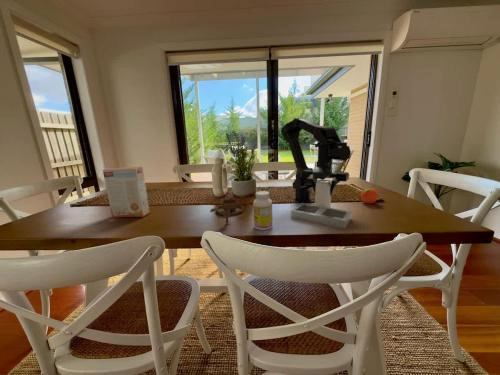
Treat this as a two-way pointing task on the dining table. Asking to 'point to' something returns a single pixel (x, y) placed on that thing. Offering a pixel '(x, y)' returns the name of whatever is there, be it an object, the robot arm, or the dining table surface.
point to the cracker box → (126, 191)
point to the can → (323, 193)
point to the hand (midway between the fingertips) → (323, 194)
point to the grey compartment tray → (322, 215)
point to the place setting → (229, 208)
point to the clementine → (369, 195)
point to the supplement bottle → (262, 211)
